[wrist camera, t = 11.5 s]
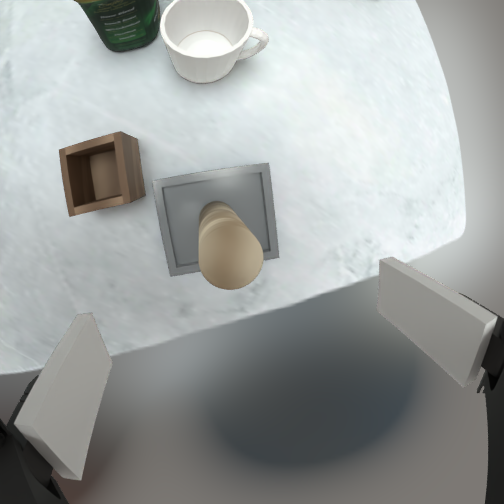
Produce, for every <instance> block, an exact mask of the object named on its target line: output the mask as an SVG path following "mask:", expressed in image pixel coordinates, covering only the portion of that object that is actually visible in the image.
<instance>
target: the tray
mask: <svg viewBox="0 0 504 504" xmlns="http://www.w3.org/2000/svg"><path fill="white" fill-rule="evenodd" d="M152 184H153V191H154V197H155V202H156V208H157V214H158V219H159V224H160V230H161V235H162V240H163V245H164V249H165V254H166V259H167V263H168V268H169V272H170V277H171V276H177V275H183V274H189V273H194V272H200V271H201V270H200V267H199V215H200V212H201V210H202V208H203V207H204V206H205V205H206V204H208V203H210V202H213V201H221V202H224V203H226V204H228V205H229V206H230V207H231V208H232V210H233V211H234V212H235V213H236V214H237V216H238V217H239V218H240V219H241V220H242V222H243V223H244V224H245V225H246V226H247V228H248V229H249V230H250V231H251V232H252V234H253V235H254V236H255V237H256V238H257V240H258V241H259V243H260V245H261V247H262V250H263V260H269V259H275V258H279V250H278V240H277V230H276V221H275V212H274V203H273V194H272V185H271V177H270V168H269V163H263V164H254V165H246V166H239V167H231V168H224V169H217V170H211V171H204V172H198V173H192V174H186V175H181V176H175V177H170V178H164V179H159V180H154V181H152Z"/></svg>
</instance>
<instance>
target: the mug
mask: <svg viewBox="0 0 504 504" xmlns="http://www.w3.org/2000/svg"><path fill="white" fill-rule="evenodd" d="M160 30H161V35H162V38H163V40H164V43H165V45H166V48H167V50H168V53H169V55H170V58H171V60H172V63H173V65H174V67H175V69H176V71H177V73H178V74H179V75H180V76H181V77H183V78H185V79H186V80H188V81H191V82H195V83H210V82H215V81H217V80H219V79H221V78H223V77H224V76H226V75H227V74H228V73H229V72H230V71H231V69H232V68H233V66H234V64H235V62H236V60H241V59H246V58H249V57H251V56H253V55H255V54H257V53H259V52H260V51H261V50H263V49H264V48H265V47H266V45H267V44H268V42H269V38H268V34H267V33H265V32H264V31H263V30H261V29H258V28H255V27H253V17H252V13H251V10H250V9H249V7H248V6H247V4H246V3H245V2H244V1H243V0H174V1H173V2H172V3H171V4H170V5H169V6H168V7H167V8H166V9H165V11H164V13H163V15H162V17H161V22H160ZM249 37H253V38H256V39H258V40H260V42H259V43H258V44H257V45H255V46H254V47H252V48H250V49H248V50H244V51H242V49H243V47H244V45H245V43H246V42H247V40H248V38H249Z"/></svg>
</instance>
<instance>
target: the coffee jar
mask: <svg viewBox="0 0 504 504" xmlns="http://www.w3.org/2000/svg"><path fill="white" fill-rule="evenodd" d="M74 1H76V2H78V3H79V5H80V6H81V7H82V9H83V10H84V12H85V13H86V15H87V16H88V18H89V20H90V21H91V23H92V24H93V26H94V27H95V29H96V31H97V33H98V34H99V36H100V38H101V40H102V41H103V43H104V44H105V46H106V47H107V48H108V49H110V50H113V51H125V50H130V49H134V48H138V47H141V46H144V45H146V44H148V43H149V42H151V41H152V40H153V39H154V38H155V37H156V35H157V33H158V29H159V23H160V7H159V2H158V0H74Z"/></svg>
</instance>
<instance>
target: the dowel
mask: <svg viewBox="0 0 504 504" xmlns="http://www.w3.org/2000/svg"><path fill="white" fill-rule="evenodd" d="M262 265H263V250H262V247H261V245H260V243H259V241H258V240H257V238H256V237H255V236H254V235H253V234H252V232H251V231H250V230H249V229H248V228H247V226H246V225H245V224H244V223H243V222H242V220H241V219H240V218H239V217H238V216H237V214H236V213H235V212H234V211H233V210H232V208H231V207H230V206H229V205H228V204H226V203H224V202H221V201H213V202H210V203H208V204H206V205H205V206H204V207H203V208H202V210H201V212H200V215H199V267H200V270H201V272H202V274H203V276H204V277H205V278H206V280H207V281H208V282H210V283H211V284H212V285H214V286H216V287H218V288H221V289H227V290H233V289H239V288H242V287H244V286H246V285H248V284H249V283H251V282H252V281H253V280H254V279H255V278H256V277H257V275H258V274H259V272H260V270H261V268H262Z"/></svg>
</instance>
